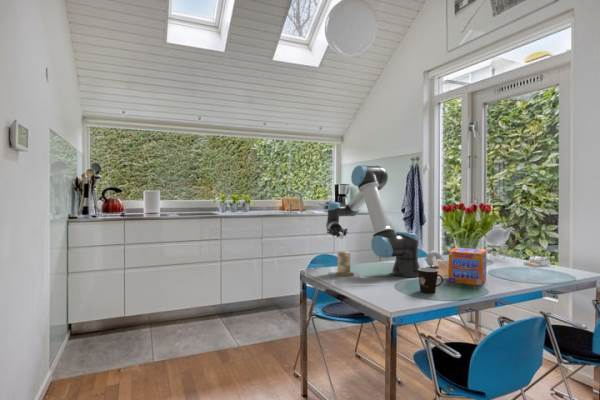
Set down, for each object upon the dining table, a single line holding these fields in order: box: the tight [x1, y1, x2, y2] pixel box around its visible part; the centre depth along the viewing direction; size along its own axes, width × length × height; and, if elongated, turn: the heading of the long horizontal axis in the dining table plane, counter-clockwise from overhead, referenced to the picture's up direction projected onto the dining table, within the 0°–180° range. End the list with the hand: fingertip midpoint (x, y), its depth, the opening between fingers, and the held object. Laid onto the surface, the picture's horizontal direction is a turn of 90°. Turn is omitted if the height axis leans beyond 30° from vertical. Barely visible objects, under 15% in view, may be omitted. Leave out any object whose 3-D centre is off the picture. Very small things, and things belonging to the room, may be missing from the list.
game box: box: [447, 247, 487, 287], centre depth 184 cm, size 16×16×16 cm
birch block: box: [337, 250, 351, 272], centre depth 196 cm, size 6×6×12 cm
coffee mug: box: [418, 267, 444, 295], centre depth 162 cm, size 12×9×10 cm
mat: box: [327, 271, 363, 280], centre depth 193 cm, size 16×16×2 cm
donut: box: [425, 250, 443, 268], centre depth 218 cm, size 10×4×10 cm, turn 101°
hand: (342, 236), depth 205 cm, fingers closed
